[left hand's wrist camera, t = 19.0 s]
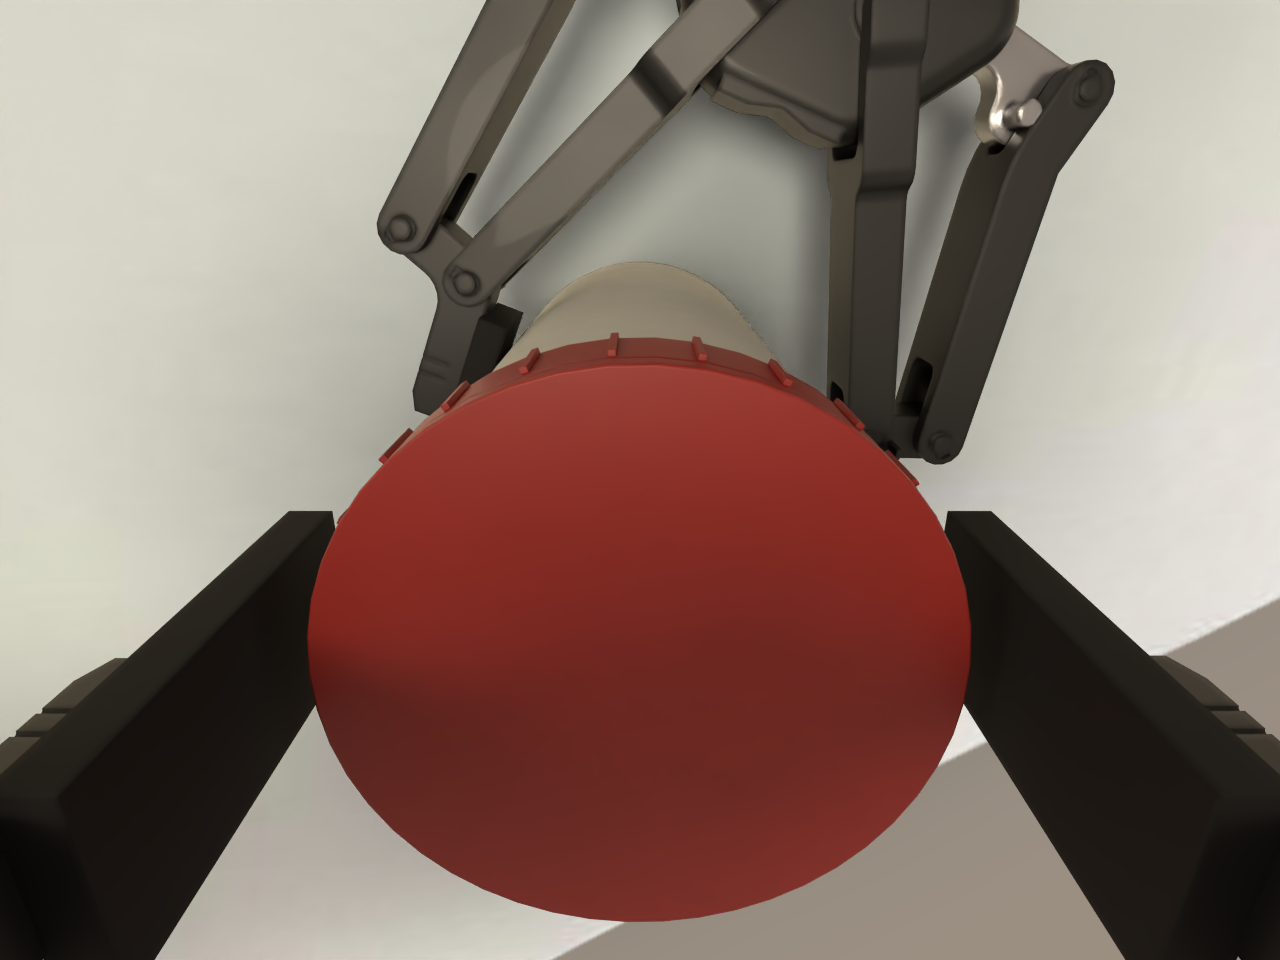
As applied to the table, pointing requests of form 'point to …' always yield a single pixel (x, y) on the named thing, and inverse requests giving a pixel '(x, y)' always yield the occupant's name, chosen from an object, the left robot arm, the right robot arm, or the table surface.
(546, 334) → the jar
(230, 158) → the table surface
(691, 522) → the lid
